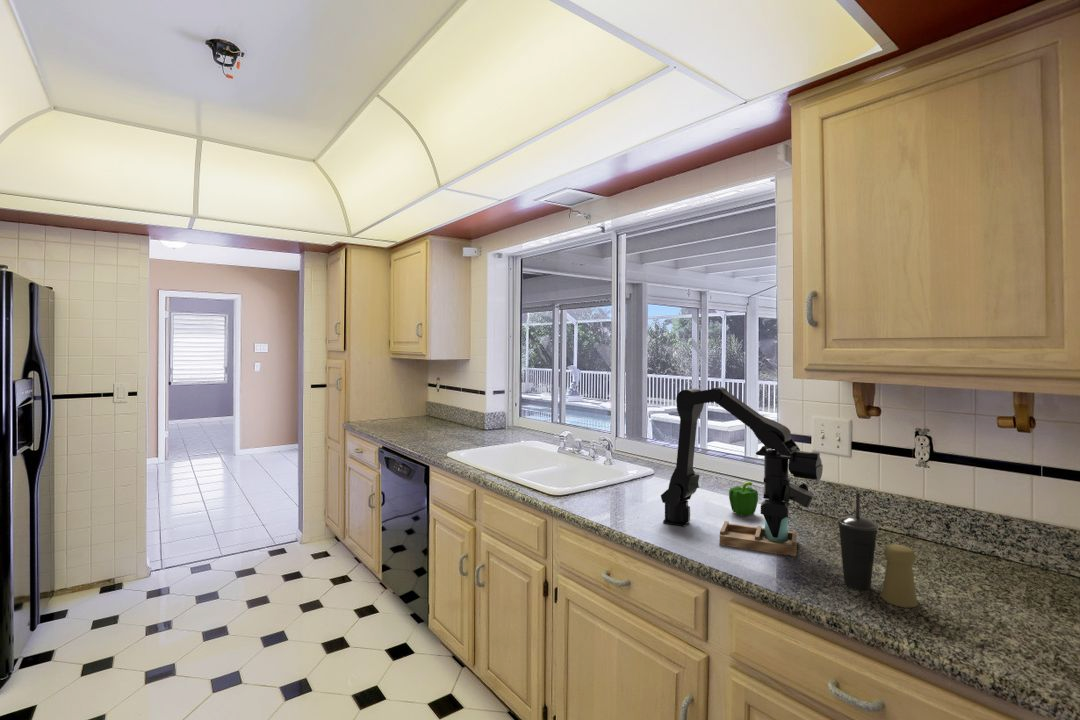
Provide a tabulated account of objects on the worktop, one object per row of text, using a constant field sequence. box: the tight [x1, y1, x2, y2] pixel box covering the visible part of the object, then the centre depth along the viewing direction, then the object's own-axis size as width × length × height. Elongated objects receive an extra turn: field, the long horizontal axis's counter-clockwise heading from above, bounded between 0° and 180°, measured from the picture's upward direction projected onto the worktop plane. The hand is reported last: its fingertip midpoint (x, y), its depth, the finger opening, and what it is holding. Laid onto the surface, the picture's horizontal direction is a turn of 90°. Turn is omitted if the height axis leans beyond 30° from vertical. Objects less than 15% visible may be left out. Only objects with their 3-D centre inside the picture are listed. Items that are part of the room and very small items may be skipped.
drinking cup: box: [837, 492, 880, 591], centre depth 112 cm, size 8×8×20 cm
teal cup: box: [764, 516, 789, 542], centre depth 134 cm, size 6×6×6 cm
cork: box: [881, 543, 918, 609], centre depth 105 cm, size 6×6×11 cm
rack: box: [719, 520, 798, 557], centre depth 136 cm, size 18×11×3 cm, turn 63°
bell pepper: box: [728, 481, 759, 517], centre depth 160 cm, size 8×8×10 cm
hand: (775, 533), depth 134 cm, fingers closed on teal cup, 5 cm apart
